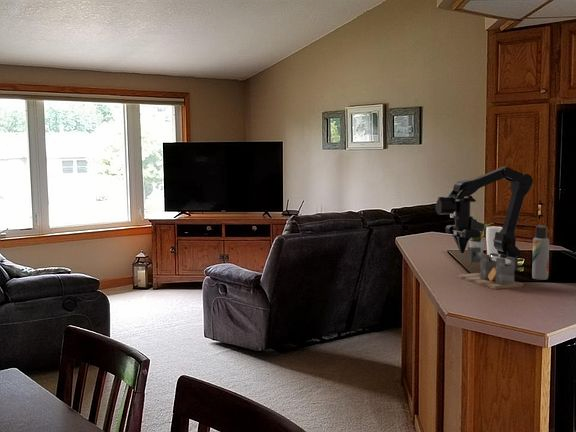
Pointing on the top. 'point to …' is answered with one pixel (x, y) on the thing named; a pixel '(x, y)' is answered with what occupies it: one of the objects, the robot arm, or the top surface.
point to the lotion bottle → (540, 254)
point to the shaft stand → (502, 273)
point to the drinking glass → (491, 238)
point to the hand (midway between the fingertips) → (462, 253)
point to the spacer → (492, 274)
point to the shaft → (475, 255)
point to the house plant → (478, 240)
